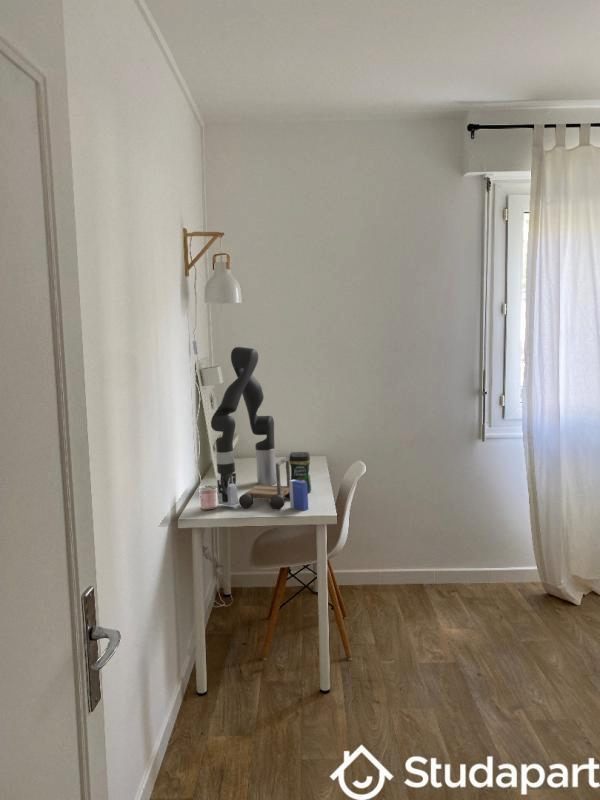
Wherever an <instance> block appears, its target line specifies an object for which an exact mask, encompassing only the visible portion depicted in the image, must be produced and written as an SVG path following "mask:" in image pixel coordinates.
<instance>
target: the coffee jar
mask: <svg viewBox="0 0 600 800" xmlns="http://www.w3.org/2000/svg"><path fill="white" fill-rule="evenodd" d="M310 463H311V456H310V452H309V451H292V452H291V453H289V465H290V480H300V481H302V480H304V481H305V482H307V492H308V494H309V493H311V491H312V481H311V480H312V479H311V474H310V473H311V472H310Z"/></svg>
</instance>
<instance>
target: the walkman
mask: <svg viewBox="0 0 600 800" xmlns="http://www.w3.org/2000/svg"><path fill="white" fill-rule="evenodd" d="M289 488H290V490H289V491H290V500H289V503H290V504H289V506H290V509H294V510H299V511H306V510H309V496H308V494H309V493H308V492H307V482H305V481H304V480H302V481H300V480H291V479H290V481H289Z"/></svg>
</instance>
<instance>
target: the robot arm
mask: <svg viewBox="0 0 600 800" xmlns="http://www.w3.org/2000/svg"><path fill="white" fill-rule="evenodd" d="M230 361H231V362H230V363H231V365H232V367H233V370H234V372H235V375H236V377H237V378H236V379H235V380H234V381H233V382H232V383H231V384H229V385H228V387H227V389H225V392H224V394H223V396H222V397H223V398H222V400H221V403H220V405H219V406H218V407H217V409H216V411H215V412H214V414H213V415H212V417H211V420H210V427H211V429H212V430H213V431H214V432H222V434H221V435H222V436H219V437H218V438H217V439H216V440H215V445H216V446H215V447H216V450H215V451H216V456H215V457H216V469H217V471H216V472H217V474H220V477H219V478H220V479H218V480H217V481H216V483H217V485H218V489H217V491H218V490H219V493H221V494H222V501H223V502H228V496H227V488H228V486H229V484H236V485H237V474H236V473H235V472H236V465H235V464H236V463H235V454H234V453H235V452H234V445H233V444H234V443H233V441H234V437H235V436H234V435H235V430H236V421H235V419H234V417H233V416H231V415H230V414H233V413H235V412H236V411H237V409H238V407H239V403H240V400H241V397H242V396H243V401H244V403H245V407H246V410H247V415H248V419H249V425H250V429H251V432H252V434H253V435H255V436H266V437H265V439H263V440H260V441H258V442H256V443H255V447H254V448H255V457H256V458H255V459H256V460H255V462H256V463H255V464H256V476H257V477H256V478H257V485H259V484H263V485H267V486H274V485H275V484H276V485H277V478H276V463H277V462H276V449H275V422H274V421H275V420H274V417H273V416H272V415H258V414H257V412H258V410H259V409H260V407H261V405H262V403H263V401H264V392H263V388H262V386H261V383H260V382H259V381H258V379H257V378H256V377H255V376H254V375H253V373H254V371H255V369H256V367H257V365H258V361H259V353H258V351H257V350H256V349H255V348H251V347H242V346H237V347H236V346H235V347H234V348H233V349H232V350H231V353H230Z"/></svg>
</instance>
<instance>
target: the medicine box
mask: <svg viewBox="0 0 600 800" xmlns="http://www.w3.org/2000/svg"><path fill="white" fill-rule="evenodd" d="M216 488H217V489H216V490H217V497H218V498H217V500H218V503H217V504H219V505H223V506H229V507H233V506H236V505H238V504H239V496H238V495H239V494H238V485H237V483H236V484H229V486H228V488H227V496H228V502H223V501H222V494H221V493H219V490H218V484H217V487H216Z"/></svg>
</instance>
